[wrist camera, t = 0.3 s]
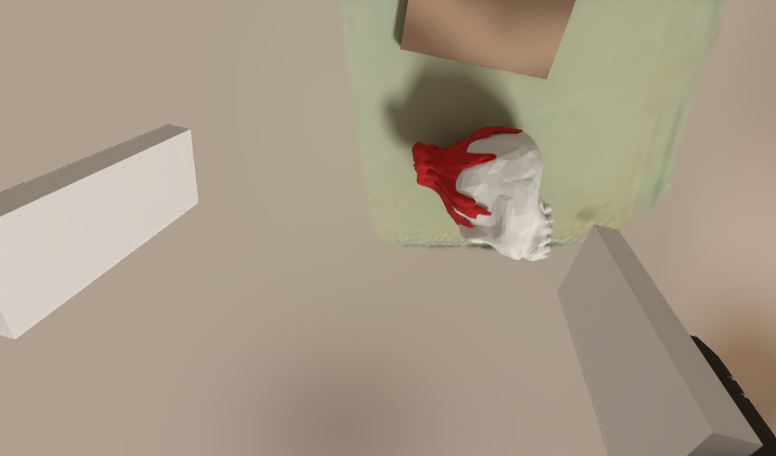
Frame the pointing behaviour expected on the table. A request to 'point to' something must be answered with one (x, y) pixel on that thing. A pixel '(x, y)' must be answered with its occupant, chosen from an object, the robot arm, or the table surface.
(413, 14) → the post base
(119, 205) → the robot arm
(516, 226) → the candle
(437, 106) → the table surface
